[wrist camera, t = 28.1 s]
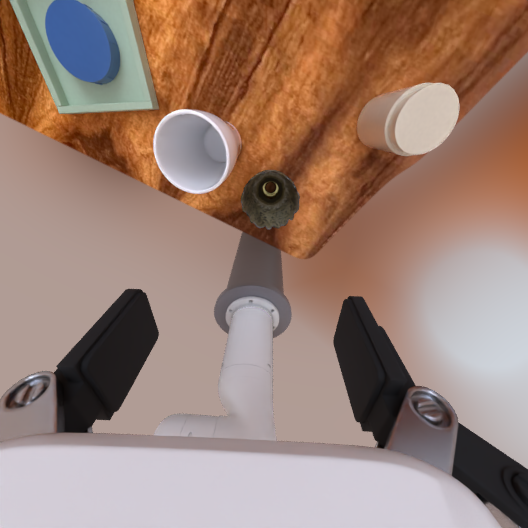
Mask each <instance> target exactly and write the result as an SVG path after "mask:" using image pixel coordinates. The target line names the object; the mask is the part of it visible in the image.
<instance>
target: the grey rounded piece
mask: <svg viewBox="0 0 528 528" xmlns="http://www.w3.org/2000/svg"><path fill="white" fill-rule="evenodd" d="M269 182H272V183H274V184H275V186H276V189H275V191H274V192H272V193H269V192H267V191H266V189H265V186H266V184H267V183H269ZM299 199H300V196H299V193H298V192H297V189H296V187H295V185H294V182H293V181H292V180H291V179H290V178H288V177H287V176H286V175H285V174H283V173H281V172H279V171H276V170H265V171H262V172H260V173H258V174H256V175H255V176H254V177H252V178H251V179H250V180H249V181H248V183H247V184H246V185H245V187H244V191H243V193H242V196H241V203H242V210H243V212H246V213H247V216H249V217H250V222H251V223H255V225H256V227H258V228H263V227H266V228H267V229H268V230H269V229H271V228H272V226H273V227H274V228H280V227H281V226H285V225H286V224H287V223H288V220H289V219H290V220H293V217H294V214H295V213H296V212H297V211H298V210H299Z"/></svg>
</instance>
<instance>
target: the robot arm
mask: <svg viewBox="0 0 528 528" xmlns="http://www.w3.org/2000/svg"><path fill="white" fill-rule="evenodd" d="M225 318H226V322H227V324H228V326H229V327H230V329H229V334H228V339H227V343H226V348H225V353H224V358H223V363H222V367H221V372H220V377H219V382H218V394H219V398H220V401H221V403H222V406H223V408H224V410H225V411H226V413H227V415H228V416H207V415H195V414H173V415H170V416H168V417H167V418H165V419H164V420H163V421H162V422H161V423H160V424H159V426H158V427H157V429H156V431H155V433H154V435H133V434H132V435H131V434H108V433H107V434H106V433H93V432H92V425H93V423H94V422H95V420H96V419H97V420H110V419H111V417H112V415H113V413H114V412H116V411H118V410H119V408H120V407H121V405H122V403H123V401H124V399H125V398H126V396H127V394H128V392H129V390H130V389H131V387H132V385H133V383H134V381H135V379H136V377H137V376H138V374H139V372H140V370H141V368H142V367H143V365H144V363H145V361H146V359H147V357H148V356H149V354H150V352H151V350H152V348H153V346H154V345H155V343H156V341H157V339H158V335H159V332H158V329H157V326H156V323H155V320H154V316H153V313H152V310H151V307H150V304H149V301H148V298H147V295H146V293H144V292H143V291H142V290H141V289H127V290H125V291H124V293H122V295H121V296H120V297H119V298H118V299H117V300H116V301H115V302H114V303H113V304H112V306H111V307H110V308H109V309H108V310H107V311H106V312H105V313H104V314H103V316H102V317H101V318H100V319H99V320H98V321H97V322H96V323H95V324H94V325H93V327H92V328H91V329H90V330H89V331H88V332H87V333H86V334H85V335H84V336H83V338H82V339H81V340H80V341H79V342H78V343H77V344H76V345H75V346H74V348H73V349H72V350H71V351H70V352H69V353H68V354H67V355H66V357H64V359H63V360H62V361H61V362H60V363H59V364H58V365H57V368H58V369H57V370H56V371H55V372H54V373H52V372H50V371H42V372H37V373H34V374H31V375H29V376H27V377H25V378H23V379H21V380H20V381H18V382H17V383H15V384H14V385H13V386H12V387H11V388H9V389H8V390H7V391H6V392H5V394H4V395H3V396H2V397H1V399H0V528H528V469H526V468H525V467H523V466H522V465H521V464H519V463H518V462H516V461H514V460H513V459H511V458H510V457H509V456H507V455H506V454H504V453H503V452H501V451H500V450H498V449H497V448H495V447H494V446H492V445H491V444H489V443H488V442H487V441H485V440H483V439H482V438H481V437H479V436H478V435H476V434H475V433H473V432H472V431H470V430H469V429H467V428H466V427H464V426H463V425H461V424H460V423H458V417H457V415H456V413H455V411H454V409H453V408H452V406H451V405H450V404H449V402H448V401H447V400H445V399H444V398H443V397H442V396H441V395H439V394H438V393H437V392H435V391H433V390H431V389H429V388H426V387H422V386H415V384H414V382H413V380H412V378H411V377H410V375H409V373H408V371H407V370H406V368H405V366H404V364H403V362H402V361H401V359H400V357H399V355H398V353H397V352H396V350H395V348H394V346H393V344H392V343H391V341H390V339H389V337H388V336H387V334H386V332H385V330H384V329H383V328H382V327H381V326H378V325H377V323H376V321H375V319H374V317H373V315H372V313H371V311H370V310H369V308H368V306H367V304H366V302H365V300H364V299H363V297H354V296H349V297H348V299H345V300H344V301H343V305H342V309H341V313H340V317H339V321H338V324H337V328H336V332H335V335H334V347H335V351H336V354H337V358H338V361H339V365H340V368H341V372H342V375H343V379H344V382H345V386H346V389H347V393H348V396H349V400H350V403H351V407H352V410H353V413H354V417H355V420H356V421H357V422H360V424H361V427H362V430H363V431H369V432H373V436H374V438H375V440H376V441H377V443H376V446H375V448H373V447H365V446H355V445H340V444H325V443H309V442H289V441H277V439H276V432H275V424H274V413H273V331H274V330H275V329H276V327H277V326H278V324H279V312H278V310H277V308H276V307H275V306H274V304H272V303H271V302H270V301H268V300H266V299H264V298H261V297H255V296H247V297H242V298H239V299H237V300H235V301H233V302H232V303H231V304H230V305H229V306H228V308H227V311H226V317H225Z"/></svg>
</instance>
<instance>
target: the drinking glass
mask: <svg viewBox="0 0 528 528" xmlns="http://www.w3.org/2000/svg"><path fill="white" fill-rule="evenodd" d="M241 146H242V142H241V137H240V134H239V132H238V130H237V129H236V128H235V127H234V126H233V125H232V124H231V123H229V122H226V121H224V120H222V119H221V118H219V117H217V116H216V115H214V114H211V113H209V112H206V111H202V110H195V109H183V110H177V111H174V112H171V113H169V114H168V115H166V116H165V117H164V118H163V119H162V120H161V121H160V123H159V124H158V126H157V128H156V131H155V134H154V140H153V149H154V155H155V159H156V162H157V164H158V166H159V168H160V170H161V172H162V173H163V174H164V176H165V177H166V178H167V179H168V180H169V181H170V182H171V183H172V184H173V185H174V186H176V187H177V188H179V189H181V190H183V191H185V192H189V193H194V194H203V193H207V192H210V191H212V190H214V189H216V188H217V187H218V186H220V185H221V184H222V183H223V182H224V181H225V180H226V179H227V178H228V176H229V175H230V174H231V172H232V170H233V168H234V166H235V163H236V160H237V157H238V156H239V154H240V151H241Z"/></svg>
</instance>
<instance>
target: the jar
mask: <svg viewBox="0 0 528 528" xmlns="http://www.w3.org/2000/svg"><path fill="white" fill-rule="evenodd" d="M458 115H459V100H458V96H457V95H456V93H455V90H454V89H452V88H451V87H450V86H449V85H447V84H443V83H423V84H419V85H415V86H411V87H407V88H403V89H400V90H396V91H392V92H388V93H384V94H381V95H378V96H376V97H374V98H373V99H371V100H370V101H369V102H368V103H367V104H366V105H365V107H364V108H363V109H362V111H361V113H360V115H359V118H358V122H357V134H358V137H359V139H360V141H361V142H362V143H363V144H364V145H365V146H367V147H370V148H374V149H378V150H382V151H386V152H389V153H393V154H397V155H402V156H412V155H419V154H424V153H427V152H429V151H431V150H433V149H434V148H436V147H437V146H439V145H440V144H441V143H442V142H443V141H444V140H445V139H446V138H447V137H448V136H449V134H450V133H451V131H452V130H453V128H454V126H455V124H456V121H457V118H458Z"/></svg>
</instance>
